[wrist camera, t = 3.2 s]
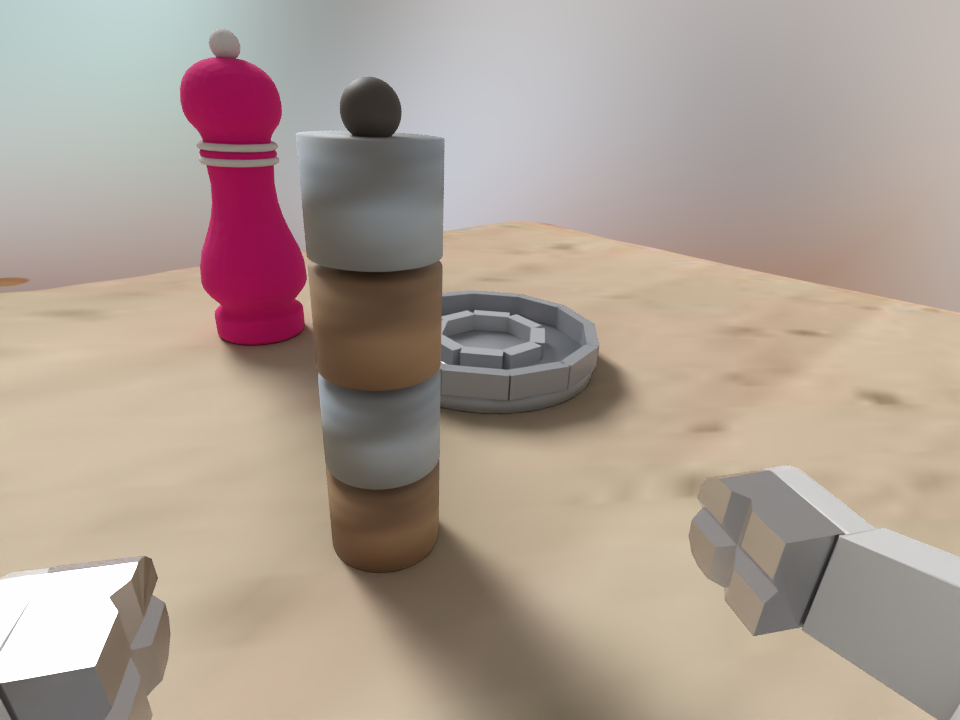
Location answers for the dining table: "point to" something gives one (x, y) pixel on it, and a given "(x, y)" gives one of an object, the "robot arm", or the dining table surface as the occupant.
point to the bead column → (377, 324)
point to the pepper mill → (243, 198)
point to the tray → (512, 352)
